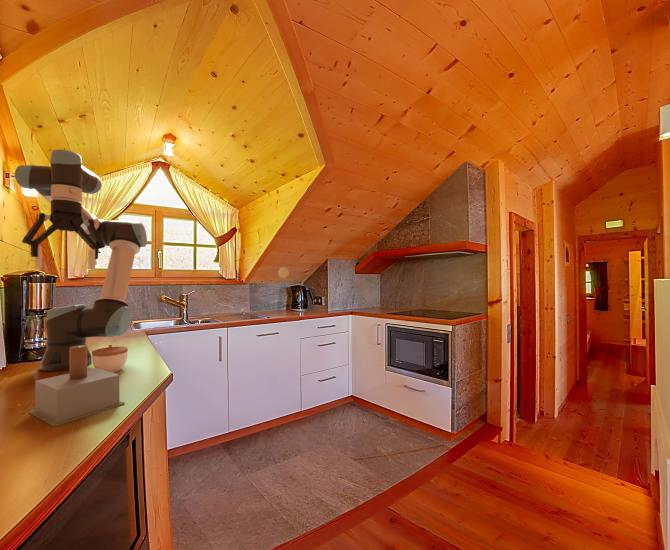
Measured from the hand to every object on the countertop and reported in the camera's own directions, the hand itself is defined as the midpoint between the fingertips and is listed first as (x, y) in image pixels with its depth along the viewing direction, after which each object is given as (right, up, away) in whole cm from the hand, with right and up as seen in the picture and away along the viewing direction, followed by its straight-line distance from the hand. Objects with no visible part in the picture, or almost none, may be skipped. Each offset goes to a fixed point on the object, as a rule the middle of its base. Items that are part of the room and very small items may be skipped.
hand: (66, 268), depth 101 cm
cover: (+18, -36, -17) cm, 44 cm away
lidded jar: (+3, -37, +16) cm, 40 cm away
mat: (+18, -37, -18) cm, 44 cm away
